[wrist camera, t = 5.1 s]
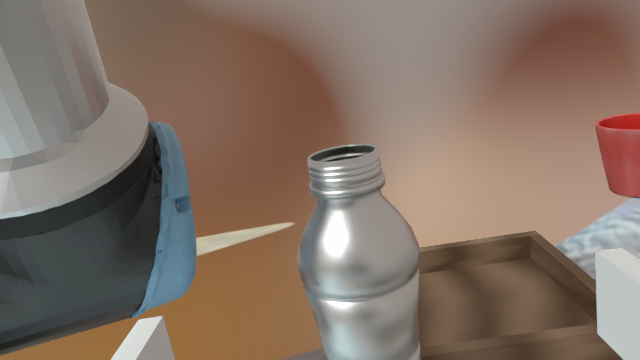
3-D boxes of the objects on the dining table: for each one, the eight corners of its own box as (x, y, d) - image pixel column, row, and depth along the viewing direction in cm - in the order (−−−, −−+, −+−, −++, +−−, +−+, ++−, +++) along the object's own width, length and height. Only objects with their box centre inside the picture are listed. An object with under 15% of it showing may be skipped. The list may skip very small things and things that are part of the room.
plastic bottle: (444, 433, 31) (410, 131, 26) (449, 535, 25) (406, 162, 20) (347, 430, 33) (297, 145, 28) (328, 526, 26) (259, 177, 21)
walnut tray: (393, 403, 34) (387, 361, 34) (369, 285, 52) (364, 255, 51) (648, 369, 34) (648, 325, 33) (536, 261, 51) (535, 230, 50)
